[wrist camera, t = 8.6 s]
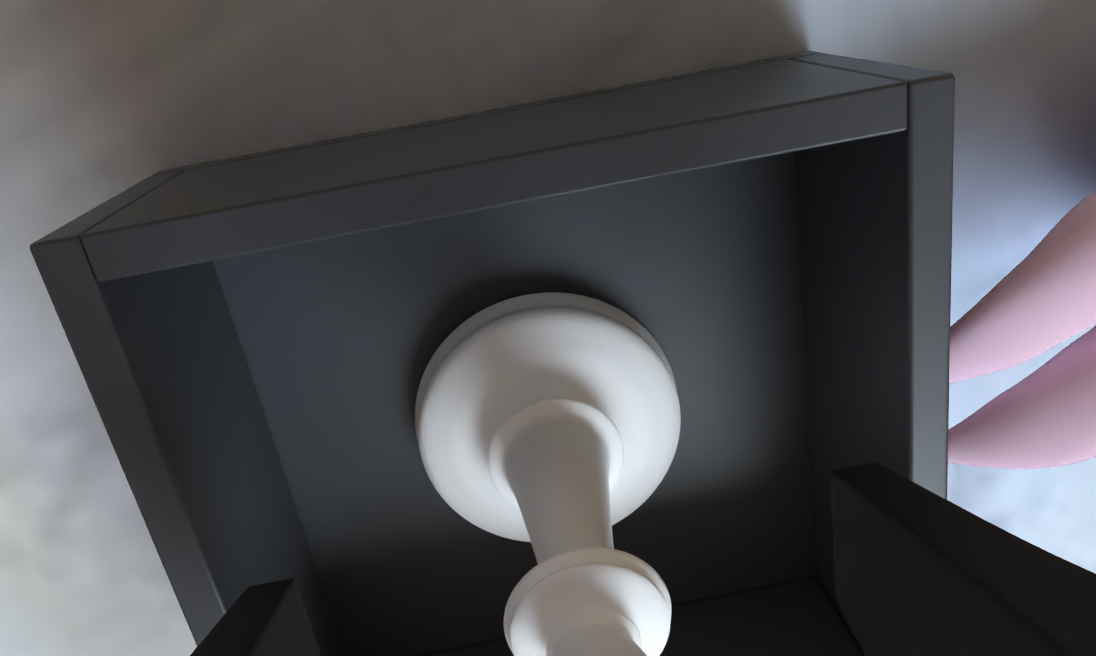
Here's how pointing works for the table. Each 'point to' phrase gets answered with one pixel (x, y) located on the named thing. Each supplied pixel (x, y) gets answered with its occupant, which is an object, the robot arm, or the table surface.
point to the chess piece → (557, 461)
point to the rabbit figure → (1034, 355)
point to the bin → (514, 270)
